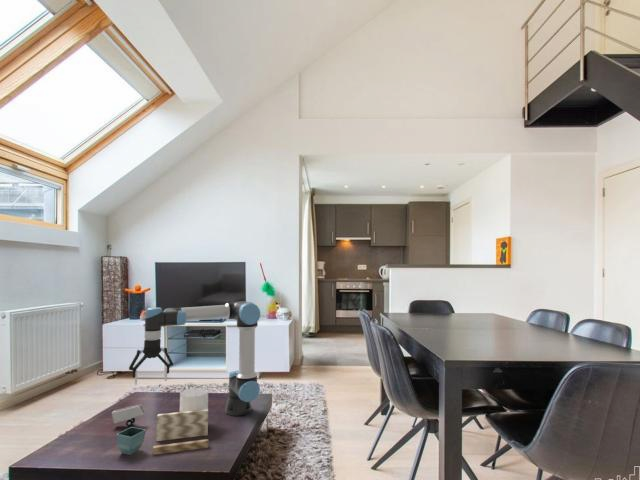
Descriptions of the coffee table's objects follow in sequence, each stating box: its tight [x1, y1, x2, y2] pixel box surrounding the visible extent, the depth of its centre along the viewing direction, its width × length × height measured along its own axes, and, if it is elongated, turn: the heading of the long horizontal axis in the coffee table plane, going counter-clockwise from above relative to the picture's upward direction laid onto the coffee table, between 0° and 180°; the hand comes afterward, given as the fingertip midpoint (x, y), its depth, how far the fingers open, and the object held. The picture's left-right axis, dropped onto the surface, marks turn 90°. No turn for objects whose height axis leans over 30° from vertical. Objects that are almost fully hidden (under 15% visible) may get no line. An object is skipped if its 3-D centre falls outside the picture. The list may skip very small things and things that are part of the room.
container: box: [179, 387, 209, 412], centre depth 202 cm, size 14×14×18 cm
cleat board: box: [152, 408, 209, 456], centre depth 183 cm, size 24×16×12 cm, turn 107°
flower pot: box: [116, 426, 146, 456], centre depth 174 cm, size 9×9×9 cm
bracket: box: [111, 404, 146, 428], centre depth 202 cm, size 4×10×15 cm
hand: (150, 382), depth 189 cm, fingers open, 13 cm apart
